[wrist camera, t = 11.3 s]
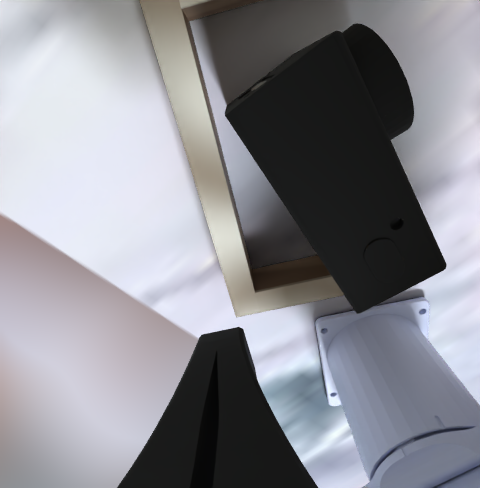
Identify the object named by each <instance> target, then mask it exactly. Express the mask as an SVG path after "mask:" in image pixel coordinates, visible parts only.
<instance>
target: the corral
mask: <svg viewBox="0 0 480 488" xmlns="http://www.w3.org/2000/svg"><path fill="white" fill-rule="evenodd" d="M139 1H140V4H141V7H142V10H143V14H144V17H145V20H146V24H147V27H148V30H149V33H150V37H151V40H152V43H153V47H154V50H155V53H156V56H157V60H158V63H159V66H160V69H161V73H162V76H163V79H164V83H165V86H166V89H167V92H168V96H169V99H170V102H171V105H172V109H173V112H174V115H175V119H176V122H177V125H178V128H179V132H180V135H181V138H182V142H183V145H184V148H185V151H186V155H187V158H188V161H189V164H190V168H191V171H192V174H193V178H194V181H195V184H196V187H197V191H198V194H199V197H200V200H201V204H202V207H203V210H204V214H205V217H206V220H207V223H208V227H209V230H210V233H211V237H212V240H213V243H214V246H215V250H216V253H217V256H218V259H219V263H220V266H221V269H222V273H223V276H224V279H225V282H226V286H227V289H228V292H229V295H230V299H231V302H232V305H233V309H234V312H235V315H236V317H241V316H246V315H250V314H255V313H260V312H265V311H270V310H275V309H280V308H285V307H290V306H295V305H299V304H304V303H309V302H314V301H319V300H324V299H329V298H334V297H339V296H343V295H344V294H343V292H342V291H341V289H340V288H339V286H338V285H337V283H336V282H335V280H334V279H333V277H332V276H331V274H330V273H329V271H328V270H327V268H326V267H325V265H324V264H323V262H322V261H321V259H320V258H319V256H318V255H316V256H311V257H307V258H302V259H297V260H293V261H288V262H283V263H279V264H274V265H269V266H265V267H260V268H256V269H252V267H251V263H250V259H249V255H248V251H247V247H246V243H245V239H244V235H243V231H242V227H241V223H240V219H239V216H238V212H237V208H236V204H235V200H234V196H233V192H232V188H231V184H230V180H229V176H228V172H227V168H226V164H225V160H224V156H223V153H222V149H221V145H220V141H219V137H218V133H217V129H216V125H215V121H214V117H213V113H212V109H211V105H210V101H209V97H208V93H207V89H206V86H205V82H204V78H203V74H202V70H201V66H200V62H199V58H198V54H197V50H196V46H195V42H194V38H193V34H192V30H191V26H190V22H189V21H192V20H196V19H199V18H203V17H206V16H210V15H213V14H217V13H220V12H224V11H227V10H231V9H234V8H238V7H241V6H245V5H248V4H252V3H255V2H259V1H263V0H139Z"/></svg>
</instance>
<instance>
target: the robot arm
mask: <svg viewBox="0 0 480 488" xmlns="http://www.w3.org/2000/svg"><path fill="white" fill-rule="evenodd" d="M429 307H430V304H429V301H428V300H427V299H426V298H423V297H420V298H415V299H410V300H405V301H400V302H395V303H390V304H385V305H380V306H375V307H371V308H370V309H368V310H366V311H364V312H362V313H359V314H357V313H356V312H355V311H350V312H345V313H340V314H335V315H330V316H325V317H321V318H318V319H317V320H316V322H315V326H316V332H317V338H318V344H319V350H320V356H321V362H322V369H323V375H324V381H325V387H326V393H327V399H328V403H329V405H331V406H338V405H342V406H343V409H344V412H345V415H346V418H347V421H348V424H349V426H350V429H351V432H352V435H353V438H354V441H355V443H356V446H357V449H358V452H359V455H360V458H361V460H362V463H363V466H364V469H365V472H366V474H367V476H368V479H369V481H370V482H369V483H368V484H367V485H365V486H364V487H362V488H480V405H479V404H478V403H477V402H476V400H475V399H474V398H473V396H472V395H471V394H470V393H469V391H468V390H467V389H466V388H465V386H464V385H463V384H462V382H461V381H460V380H459V379H458V377H457V376H456V375H455V374H454V372H453V371H452V370H451V369H450V367H449V366H448V365H447V363H446V362H445V361H444V360H443V358H442V357H441V356H440V355H439V353H438V352H437V351H436V350H435V348H434V347H433V346H432V344H431V343H430V342H429V341H428V328H429ZM421 309H422V310H421ZM420 310H421V311H420ZM323 328H326V329H324V330H321V329H323ZM117 488H318V487H317V485H316V484H315V482H314V481H313V479H312V478H311V476H310V475H309V473H308V472H307V470H306V468H305V467H304V465H303V464H302V462H301V461H300V459H299V457H298V456H297V454H296V452H295V451H294V449H293V447H292V446H291V444H290V443H289V441H288V439H287V437H286V436H285V434H284V432H283V430H282V429H281V427H280V425H279V423H278V421H277V420H276V418H275V416H274V414H273V412H272V410H271V408H270V406H269V404H268V402H267V400H266V398H265V396H264V394H263V392H262V390H261V388H260V385H259V383H258V381H257V377H256V372H255V367H254V364H253V360H252V357H251V354H250V350H249V347H248V344H247V341H246V337H245V334H244V331H243V329H242V328H240V327H237V328H232V329H227V330H222V331H218V332H213V333H208V334H203V335H201V337H200V338H199V340H198V343H197V345H196V347H195V350H194V352H193V354H192V357H191V359H190V361H189V363H188V366H187V368H186V370H185V372H184V374H183V377H182V378H181V381H180V382H179V385H178V387H177V389H176V391H175V393H174V395H173V397H172V399H171V401H170V402H169V405H168V406H167V408H166V410H165V412H164V413H163V415H162V417H161V419H160V421H159V423H158V425H157V426H156V428H155V430H154V431H153V433H152V435H151V436H150V438H149V440H148V442H147V443H146V445H145V446H144V448H143V450H142V451H141V453H140V454H139V456H138V457H137V459H136V461H135V462H134V464H133V465H132V467H131V468H130V470H129V471H128V473H127V474H126V476H125V477H124V478H123V480H122V481H121V483H120V484H119V486H118V487H117Z"/></svg>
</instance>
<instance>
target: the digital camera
mask: <svg viewBox="0 0 480 488" xmlns="http://www.w3.org/2000/svg"><path fill="white" fill-rule="evenodd" d="M225 116H226V118H227V119H228V121H229V122H230V124H231V125H232V127H233V128H234V130H235V131H236V133H237V134H238V136H239V137H240V139H241V140H242V142H243V143H244V145H245V146H246V148H247V149H248V151H249V152H250V154H251V155H252V157H253V158H254V160H255V161H256V163H257V164H258V166H259V167H260V169H261V170H262V172H263V173H264V175H265V176H266V178H267V179H268V181H269V182H270V184H271V185H272V187H273V188H274V190H275V191H276V193H277V194H278V196H279V197H280V199H281V200H282V202H283V203H284V205H285V206H286V208H287V210H288V211H289V213H290V214H291V216H292V217H293V219H294V220H295V222H296V223H297V225H298V226H299V228H300V229H301V231H302V232H303V234H304V235H305V237H306V238H307V240H308V241H309V243H310V244H311V246H312V247H313V249H314V250H315V252H316V253H317V255H318V256H319V258H320V259H321V261H322V262H323V264H324V265H325V267H326V268H327V270H328V271H329V273H330V274H331V276H332V277H333V279H334V280H335V282H336V283H337V285H338V286H339V288H340V289H341V291H342V292H343V294H344V295H345V297H346V298H347V300H348V301H349V303H350V304H351V306H352V307H353V309H354V310H355V312H356V313H357V314H359V313H362V312H364V311H366V310H368V309H370V308H371V307H373V306H375V305H377V304H379V303H381V302H383V301H385V300H387V299H389V298H391V297H393V296H395V295H397V294H399V293H401V292H403V291H404V290H406V289H408V288H410V287H412V286H414V285H416V284H418V283H420V282H422V281H424V280H426V279H428V278H430V277H432V276H434V275H436V274H438V273H439V272H441V271H443V270H444V269H446V262H445V260H444V258H443V256H442V253H441V251H440V249H439V247H438V244H437V242H436V240H435V238H434V236H433V233H432V231H431V229H430V227H429V225H428V222H427V220H426V218H425V216H424V214H423V211H422V209H421V207H420V205H419V203H418V200H417V198H416V196H415V194H414V191H413V189H412V187H411V185H410V183H409V180H408V178H407V176H406V174H405V172H404V169H403V167H402V165H401V163H400V161H399V158H398V156H397V154H396V152H395V149H394V147H393V145H392V143H391V141H390V140H392V139H393V138H395V137H396V136H398V135H400V134H401V133H403V132H404V131H406V130H407V129H409V128H410V127H411V125H412V122H413V118H414V106H413V100H412V96H411V92H410V89H409V86H408V83H407V80H406V77H405V75H404V73H403V71H402V69H401V67H400V65H399V63H398V61H397V59H396V58H395V56H394V54H393V53H392V51H391V50H390V49H389V47H388V46H387V45H386V43H385V42H384V41H383V40H382V39H381V38H380V37H379V35H377V34H376V33H375V32H374V31H373V30H372V29H370V28H368V27H367V26H365V25H362V24H353V25H352V26H351V27H349V28H348V29H347V30H345V31H344V32H343V33H341V32H340V31H335V32H333V33H331V34H329V35H327V36H325V37H324V38H322V39H320V40H318V41H316V42H315V43H313V44H311V45H309V46H308V47H306V48H304V49H302V50H300V51H298V52H297V53H295V54H293V55H292V56H291V57H290V58H288V59H287V60H286V61H284V62H283V63H282V64H280V65H279V66H278V67H276V68H275V69H274V70H273V71H271V72H270V73H269V74H267V75H266V76H265V77H263V78H262V79H261V80H260V81H258V82H257V83H256V84H254V85H253V86H252V87H250V88H249V89H248V90H247V91H245V92H244V93H243V94H241V95H240V96H239V97H237V98H236V99H235V100H234V101H232V102H231V103H230V104H229V105H227V107H226V111H225Z"/></svg>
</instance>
